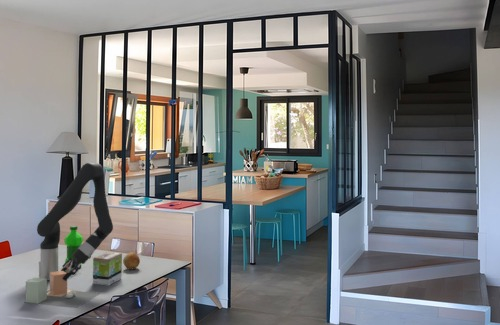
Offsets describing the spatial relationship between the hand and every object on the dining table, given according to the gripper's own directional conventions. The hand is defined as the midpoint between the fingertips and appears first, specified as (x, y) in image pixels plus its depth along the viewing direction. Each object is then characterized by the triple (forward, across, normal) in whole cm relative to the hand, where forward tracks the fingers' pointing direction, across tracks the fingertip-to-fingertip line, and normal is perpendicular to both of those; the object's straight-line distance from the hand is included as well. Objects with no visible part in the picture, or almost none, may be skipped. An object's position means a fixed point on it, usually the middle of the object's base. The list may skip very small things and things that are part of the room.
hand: (61, 277), depth 249 cm
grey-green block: (+15, +6, -4) cm, 16 cm away
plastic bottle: (-9, -46, +20) cm, 51 cm away
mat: (+7, +9, +4) cm, 12 cm away
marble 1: (+5, +12, +6) cm, 14 cm away
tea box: (-13, -7, +25) cm, 29 cm away
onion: (-28, -24, +40) cm, 54 cm away
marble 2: (+3, +9, +7) cm, 12 cm away
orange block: (+6, 0, +4) cm, 7 cm away
